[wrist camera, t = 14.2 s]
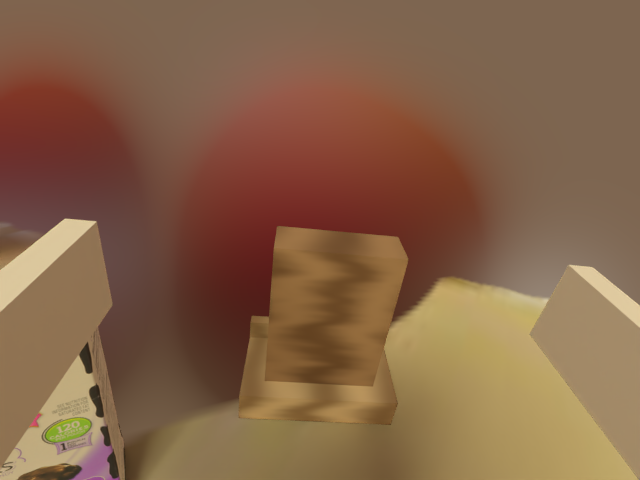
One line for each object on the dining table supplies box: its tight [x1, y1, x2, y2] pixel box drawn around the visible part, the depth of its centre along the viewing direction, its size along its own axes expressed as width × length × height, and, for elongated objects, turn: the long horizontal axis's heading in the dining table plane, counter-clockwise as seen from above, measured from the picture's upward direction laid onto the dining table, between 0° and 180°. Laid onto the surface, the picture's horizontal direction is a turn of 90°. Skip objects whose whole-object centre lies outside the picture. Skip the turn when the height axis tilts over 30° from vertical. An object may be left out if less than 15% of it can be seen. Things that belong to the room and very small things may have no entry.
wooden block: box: [265, 226, 408, 387], centre depth 32 cm, size 10×4×14 cm, turn 92°
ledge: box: [239, 316, 398, 425], centre depth 36 cm, size 14×8×5 cm, turn 92°
